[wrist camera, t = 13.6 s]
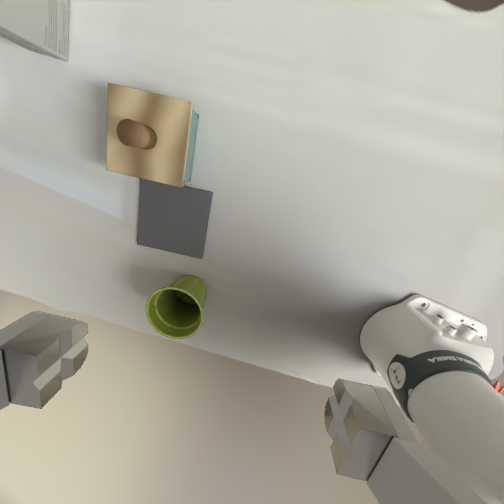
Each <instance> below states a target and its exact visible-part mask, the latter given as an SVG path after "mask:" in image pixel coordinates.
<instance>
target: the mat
mask: <svg viewBox="0 0 504 504" xmlns="http://www.w3.org/2000/svg"><path fill="white" fill-rule="evenodd" d="M212 194H213V192H208V191H204V190H200V189H195V188H191V187H186V186H183V187H177V186H173V185H169V184H164V183H160V182H155V181H151V180H147V179H142V178H141V190H140V205H139V221H138V236H137V244H139V245H143V246H147V247H152V248H156V249H161V250H165V251H169V252H174V253H178V254H183V255H187V256H191V257H196V258H200V259H202V256H203V250H204V244H205V238H206V231H207V225H208V219H209V213H210V206H211V200H212Z"/></svg>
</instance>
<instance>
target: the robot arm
mask: <svg viewBox="0 0 504 504" xmlns="http://www.w3.org/2000/svg"><path fill="white" fill-rule="evenodd" d="M422 303H424V304H422ZM421 304H422V305H421ZM87 333H88V324H87V323H85V322H82V321H79V320H75V319H71V318H66V317H63V316H59V315H55V314H49V313H45V312H41V311H34V312H31V313H29V314H27V315H25V316H24V317H22V318H20V319H18V320H17V321H15V322H13V323H12V324H10V325H8V326H7V327H5V328H3V329H1V330H0V410H1V409H3V408H4V407H6V406H8V405H9V403H12V404H18V405H23V406H29V407H34V408H40V409H42V407H43V406H44V405H45V404H46V403H47V402H48V401H49V400H50V399H51V398H52V397H53V396H54V395H55V394H56V393H57V392H58V391H59V390H60V389H61V386H62V380H65V379H67V378H69V377H71V376H73V375H74V374H75V373H76V372H77V371H78V370H79V369H80V368H81V366H82V364H83V362H84V361H85V359H86V356H87V353H88V343H87V342H86V340H85V339H84V338H83V337H84V336H85V335H86V334H87ZM486 338H487V327H486V326H485V325H484V324H483V323H482V322H480V321H478V320H476V319H474V318H471V317H469V316H467V315H465V314H462V313H460V312H458V311H455V310H453V309H451V308H449V307H446V306H444V305H442V304H440V303H437V302H435V301H433V300H431V299H428V298H426V297H424V296H422V295H418V294H416V295H413V296H411V297H409V298H407V299H406V300H404V301H403V302H402V303H399V304H396V305H393V306H389V307H387V308H384V309H382V310H380V311H378V312H377V313H375V314H374V315H373V316H372V317H371V318H369V320H368V321H367V322H366V323H365V325H364V327H363V329H362V331H361V334H360V345H361V349H362V351H363V353H364V354H365V355H366V356H367V357H368V359H369V360H370V361H371V362H372V363H373V367H374V370H375V372H376V373H377V374H378V376H380V377H382V378H383V379H384V380H385V382H386V383H387V385H388V386H389V387H390V389H391V390H392V392H393V393H394V395H395V397H396V398H397V400H398V402H399V404H400V405H401V408H402V410H403V411H404V412H405V413H406V415H407V416H408V418H409V419H410V420H411V421H412V422H413V423H415V425H416V427H417V428H418V430H419V432H420V433H421V435H422V437H423V439H424V440H425V442H426V444H427V445H428V447H429V448H428V447H427V446H426V445H425V444H423V443H419V442H418V441H417V439H416V437H415V436H414V434H413V432H412V431H411V429H410V427H409V425H408V423H407V421H406V420H405V418H404V416H403V414H402V413H401V411H400V409H399V407H398V405H397V404H396V402H395V400H394V398H393V397H392V395H391V393H390V392H389V391H388V390H387V389H386V388H382V387H377V386H372V385H366V384H362V383H357V382H352V381H348V380H343V379H338V380H337V381H336V382H335V384H334V386H333V389H334V392H335V394H334V395H332V396H331V397H329V398H328V401H327V403H326V407H325V424H326V429H327V432H328V434H329V435H330V436H331V438H332V439H333V440H334V441H333V444H332V446H331V451H332V455H333V460H334V464H335V469H336V473H337V474H339V475H343V476H347V477H351V478H355V479H359V480H363V481H367V485H368V486H369V488H370V490H371V491H372V493H373V494H374V496H375V497H376V498H377V500H378V502H379V503H380V504H488V503H489V504H504V397H503V396H502V395H501V392H502V391H503V389H504V386H502V387H501V388H500V389H499V390H498V388H499V383H500V382H499V381H496V383H495V384H494V385H492V383H491V381H490V379H489V378H488V376H487V375H488V373H489V371H490V369H491V367H492V365H493V361H494V353H493V350H492V348H491V347H490V346H489V345H488V344H487V343H486ZM497 390H498V391H497Z"/></svg>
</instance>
